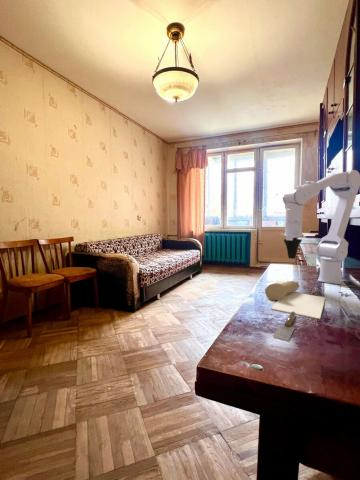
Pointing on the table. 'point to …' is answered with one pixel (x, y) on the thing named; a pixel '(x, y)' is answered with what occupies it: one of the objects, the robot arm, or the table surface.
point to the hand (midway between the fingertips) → (291, 258)
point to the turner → (285, 329)
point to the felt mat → (300, 304)
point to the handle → (281, 289)
